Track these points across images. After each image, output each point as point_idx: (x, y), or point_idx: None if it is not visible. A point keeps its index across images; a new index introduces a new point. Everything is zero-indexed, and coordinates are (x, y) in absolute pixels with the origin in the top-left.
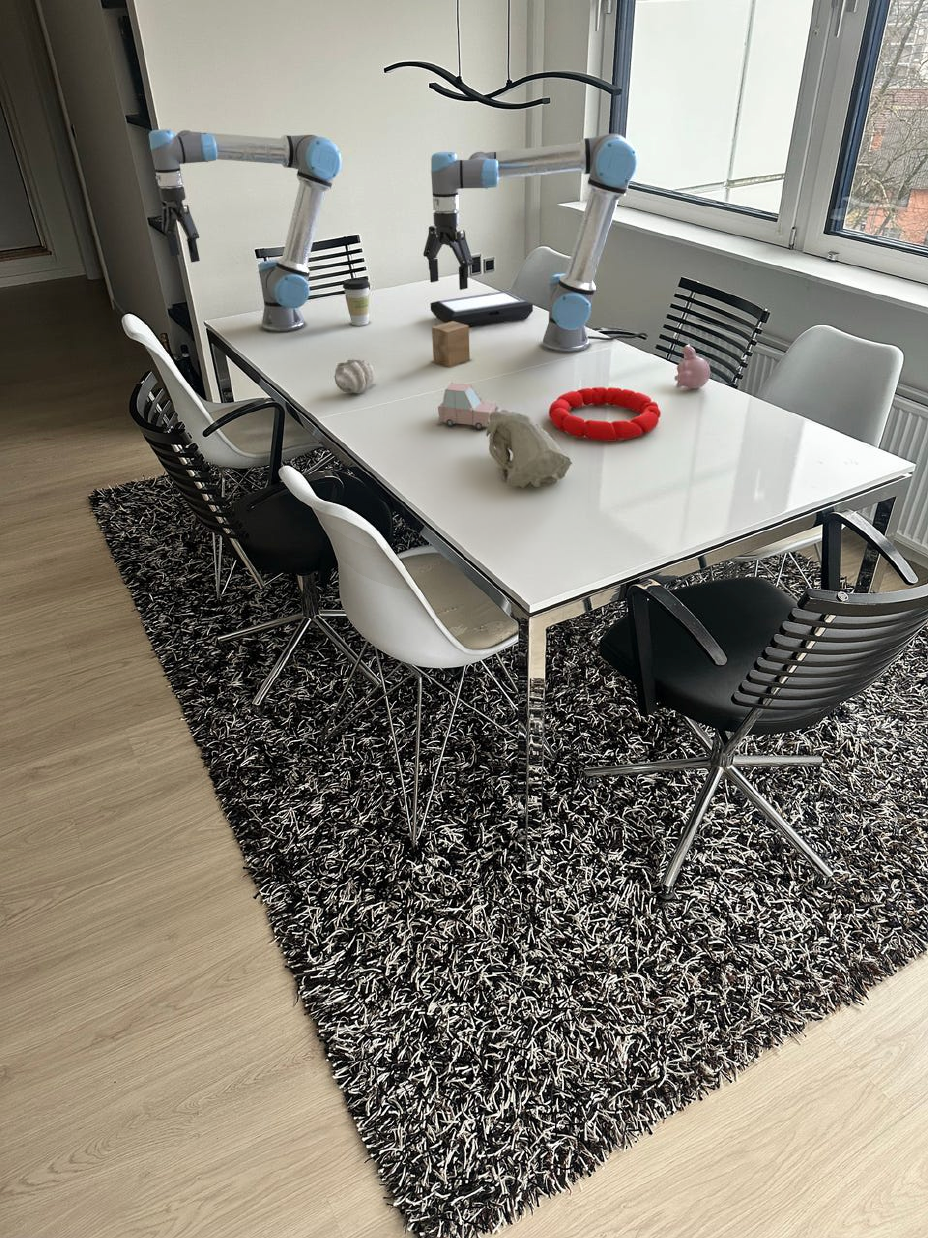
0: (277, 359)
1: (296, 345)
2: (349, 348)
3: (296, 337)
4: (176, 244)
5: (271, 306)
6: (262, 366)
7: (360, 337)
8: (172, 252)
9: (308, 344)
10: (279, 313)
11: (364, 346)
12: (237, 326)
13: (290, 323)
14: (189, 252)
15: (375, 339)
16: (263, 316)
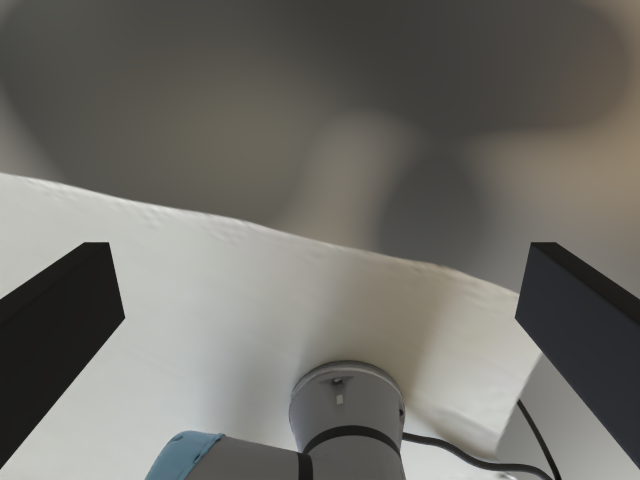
0: None
1: (170, 347)
2: (60, 411)
3: (234, 380)
4: (573, 375)
5: (329, 428)
6: (49, 194)
7: (125, 464)
8: (545, 268)
9: (157, 369)
10: (308, 421)
11: (54, 437)
12: (452, 332)
13: (290, 413)
14: (35, 287)
15: (89, 474)
16: (368, 392)
